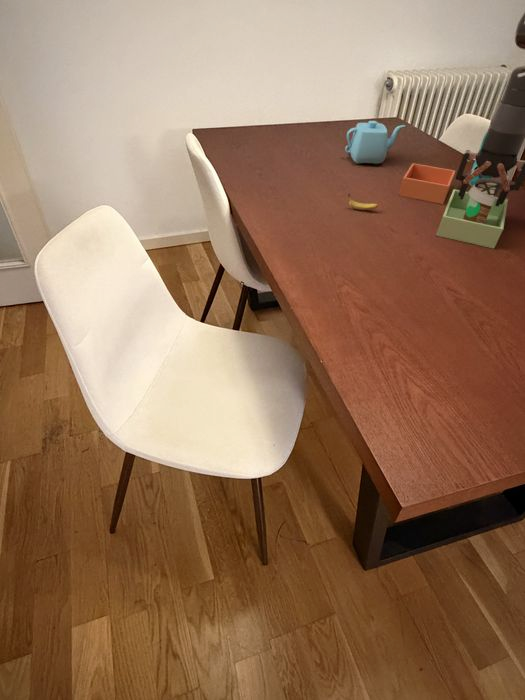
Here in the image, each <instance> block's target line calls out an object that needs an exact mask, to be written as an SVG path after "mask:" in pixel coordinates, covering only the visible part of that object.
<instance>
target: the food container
mask: <svg viewBox="0 0 525 700" xmlns="http://www.w3.org/2000/svg"><path fill="white" fill-rule="evenodd" d="M501 186H502V182H501V179H500V178H494V177H491V178H484V179H479V180H477V181H476V182H475V183H474V184H473V185H472V186H470V188H469V189H468V191H467V192H468V193H469V196H470V198H469V201H468V205H467V208H466V211H465V215H464V218H463V220H467V221H472V222H477V223H482V224H484V223H485V221H486V219H487V216H488V214H489V212H490V209H491V207H492V205H493V202H494V200H495V198H496V197H497V195H498V193H499V191H500V188H501Z"/></svg>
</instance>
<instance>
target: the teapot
mask: <svg viewBox="0 0 525 700" xmlns="http://www.w3.org/2000/svg"><path fill="white" fill-rule="evenodd" d="M405 127H407V126H406V125H405V124H402V125H398V126H396V127H395V128H394V129H393V131H392V134H391V135H390V137H389V135H388V129H387V127H386V126H385V125H384V124H383V123H379V122H378V121H377V120H368V122H357V124H356V126H355V127H351V128H350V129H349V130H347V132H346V141H347V144H348V145H346V146H345V148H344V151H345V153H346V154H350V157H351V159H352V160H353V162H355V164H359V165H362V164H373V165H379V164H382V163H384V161H385V159H386V158H387V154H388V153H387V152H388V150H389V149H391V148H392V147H393V145H394V144H395V142H396V139H397V136H398V134H399V132H400V131H401V130H402V129H404V128H405ZM352 132H353V134H352V136H351V139H350V134H351V133H352ZM388 137H389V138H388ZM348 148H349V149H348Z"/></svg>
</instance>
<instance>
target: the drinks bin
mask: <svg viewBox="0 0 525 700" xmlns="http://www.w3.org/2000/svg"><path fill="white" fill-rule="evenodd" d="M455 174H456V170H455V169H449V168H443V167H437V166H432V165H425V164H421V163H414V162H412V163H411V164H410V166H409V168H408V169H407V171H406V173H405V174H404V176H403V178H402V181H401V185H400V188H399V193H398V196H400V197H405V198H409V199H415V200H419V201H424V202H429V203H433V204H439V205H444V203H445V201H446V198H447V196H448V193H449V191H450V189H451V186H452V183H453V180H454V177H455Z"/></svg>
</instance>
